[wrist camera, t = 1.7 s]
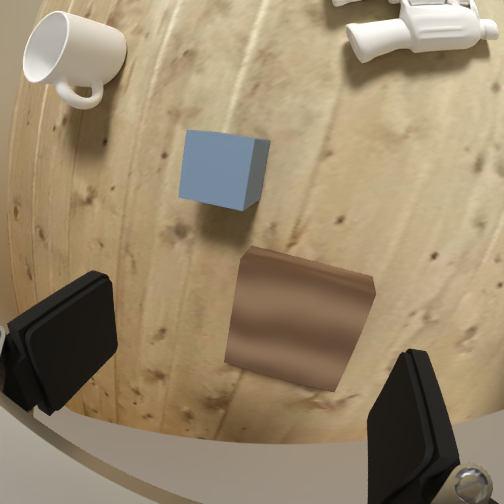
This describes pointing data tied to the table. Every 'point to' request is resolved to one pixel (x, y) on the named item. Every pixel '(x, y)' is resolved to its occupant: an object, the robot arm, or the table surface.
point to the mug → (74, 56)
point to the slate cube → (223, 169)
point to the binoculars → (421, 28)
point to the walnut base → (296, 318)
